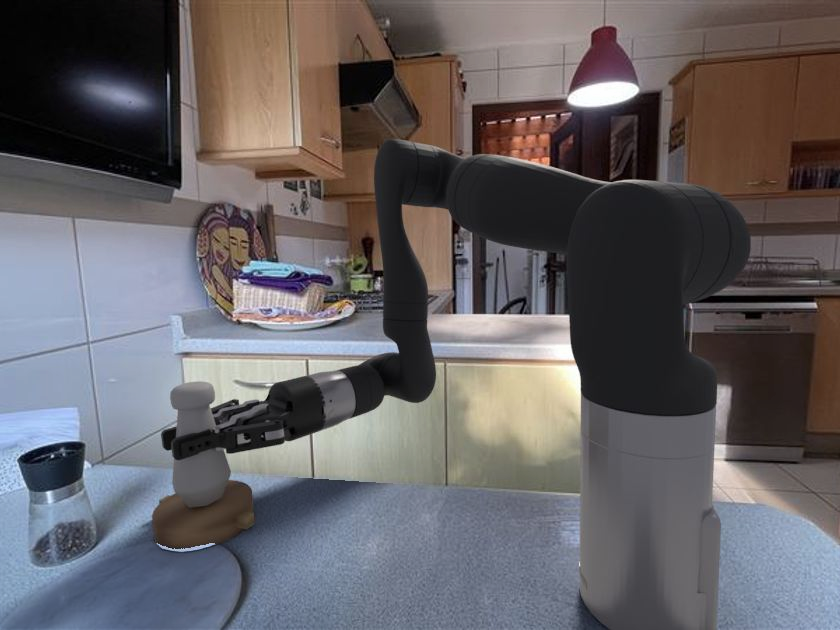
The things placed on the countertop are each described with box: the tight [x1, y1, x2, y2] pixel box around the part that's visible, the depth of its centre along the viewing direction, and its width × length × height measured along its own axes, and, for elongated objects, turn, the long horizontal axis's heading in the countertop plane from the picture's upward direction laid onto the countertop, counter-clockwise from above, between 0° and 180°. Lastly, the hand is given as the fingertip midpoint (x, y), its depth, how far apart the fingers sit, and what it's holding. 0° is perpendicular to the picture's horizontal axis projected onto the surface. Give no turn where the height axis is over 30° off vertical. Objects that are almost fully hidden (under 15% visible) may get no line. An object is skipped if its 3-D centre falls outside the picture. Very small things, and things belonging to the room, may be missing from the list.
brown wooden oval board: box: [151, 479, 256, 549], centre depth 49 cm, size 13×10×2 cm
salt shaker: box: [169, 380, 231, 508], centre depth 48 cm, size 6×6×13 cm
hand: (168, 445), depth 46 cm, fingers closed on salt shaker, 3 cm apart
